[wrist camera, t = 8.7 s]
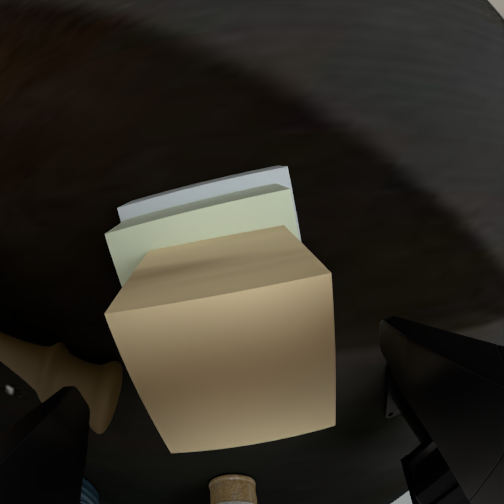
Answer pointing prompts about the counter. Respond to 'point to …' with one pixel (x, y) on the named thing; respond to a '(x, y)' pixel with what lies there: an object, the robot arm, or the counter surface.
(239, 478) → the sprinkles bottle
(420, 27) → the counter surface
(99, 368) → the kendama
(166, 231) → the sage block
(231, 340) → the maple cube
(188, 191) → the base block
